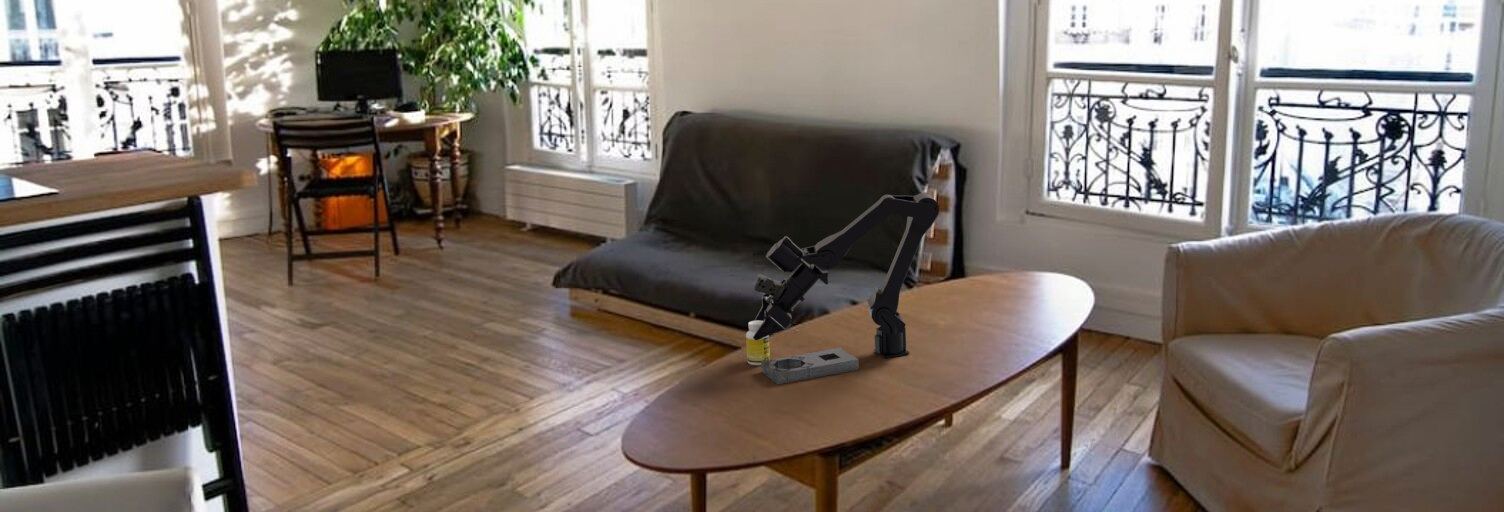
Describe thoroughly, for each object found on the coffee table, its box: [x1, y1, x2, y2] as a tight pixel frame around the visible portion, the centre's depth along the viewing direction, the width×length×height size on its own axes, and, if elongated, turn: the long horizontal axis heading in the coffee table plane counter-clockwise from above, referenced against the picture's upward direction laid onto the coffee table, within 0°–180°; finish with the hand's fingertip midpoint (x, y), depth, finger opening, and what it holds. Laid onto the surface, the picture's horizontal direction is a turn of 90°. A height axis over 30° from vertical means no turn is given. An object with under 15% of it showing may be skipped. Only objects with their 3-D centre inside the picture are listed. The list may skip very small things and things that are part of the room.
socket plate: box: [760, 347, 860, 385], centre depth 271 cm, size 20×10×2 cm, turn 110°
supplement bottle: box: [745, 320, 771, 366], centre depth 279 cm, size 5×5×10 cm
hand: (753, 333), depth 278 cm, fingers open, 9 cm apart
